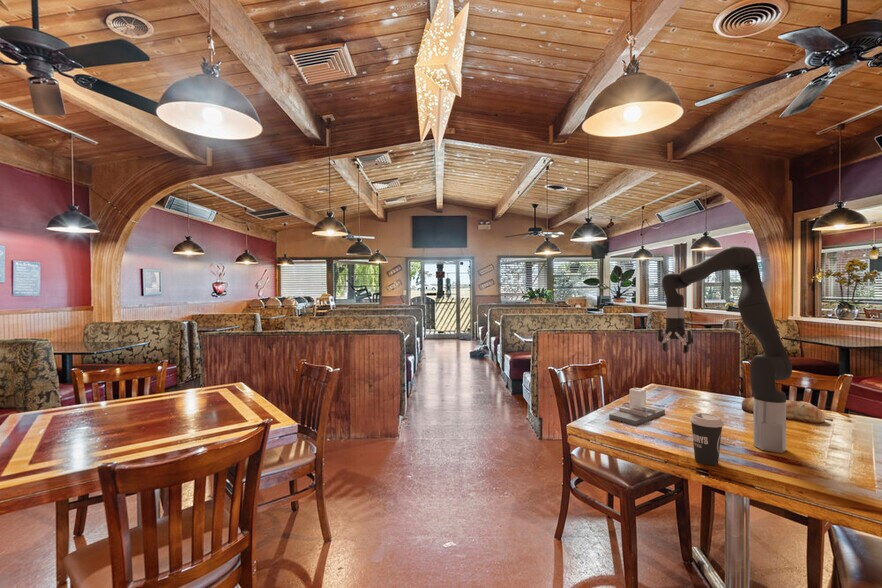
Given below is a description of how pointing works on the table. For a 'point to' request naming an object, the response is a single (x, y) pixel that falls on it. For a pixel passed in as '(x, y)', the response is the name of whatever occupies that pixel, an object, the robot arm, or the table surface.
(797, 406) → the bread loaf
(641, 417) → the plate
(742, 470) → the table surface
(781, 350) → the robot arm
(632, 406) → the block
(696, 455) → the coffee cup
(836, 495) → the table surface
